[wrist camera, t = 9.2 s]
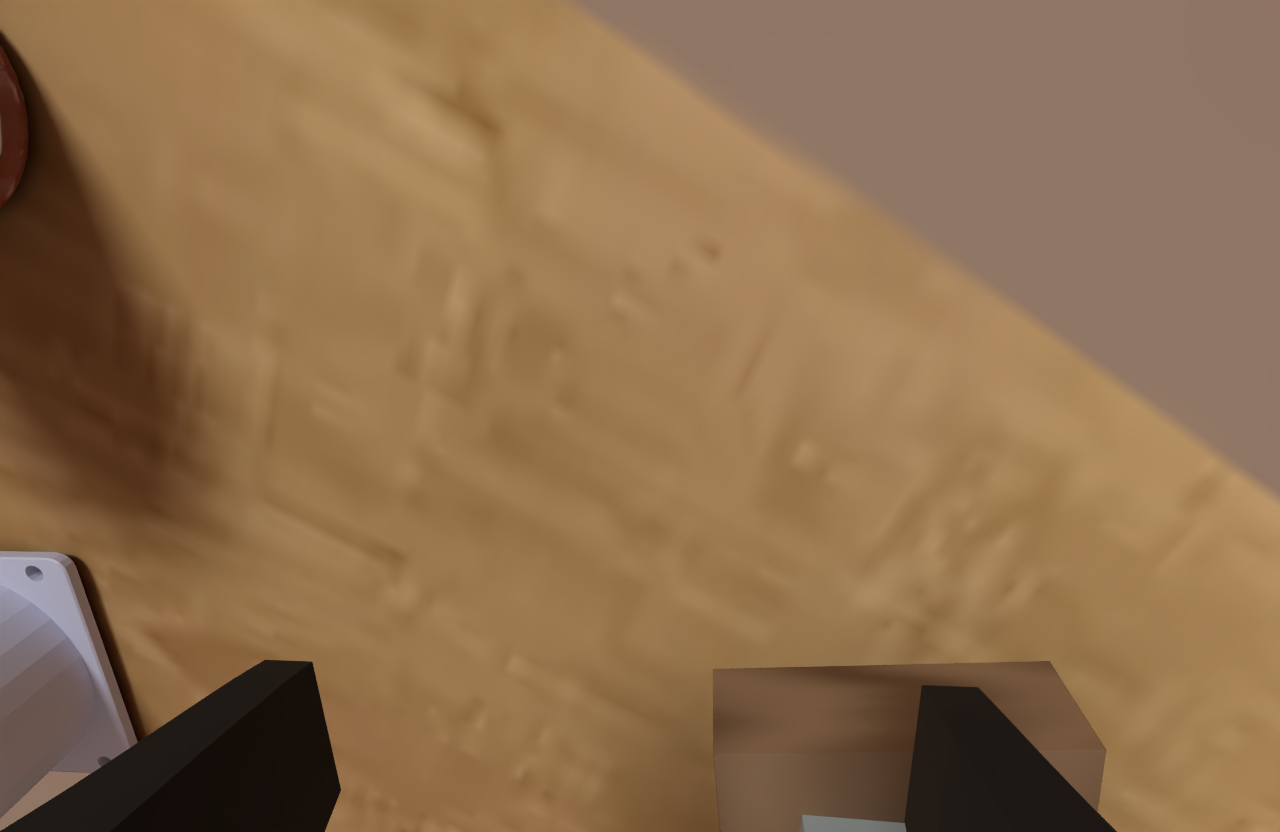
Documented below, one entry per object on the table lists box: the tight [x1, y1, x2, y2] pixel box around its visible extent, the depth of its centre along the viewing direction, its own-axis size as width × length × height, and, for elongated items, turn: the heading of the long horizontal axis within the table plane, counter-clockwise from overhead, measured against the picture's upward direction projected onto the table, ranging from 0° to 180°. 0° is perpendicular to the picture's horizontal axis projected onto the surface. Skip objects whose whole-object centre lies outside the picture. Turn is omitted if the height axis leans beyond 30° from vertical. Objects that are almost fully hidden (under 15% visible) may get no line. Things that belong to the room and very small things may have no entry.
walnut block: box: [713, 661, 1106, 832], centre depth 21 cm, size 9×9×4 cm
